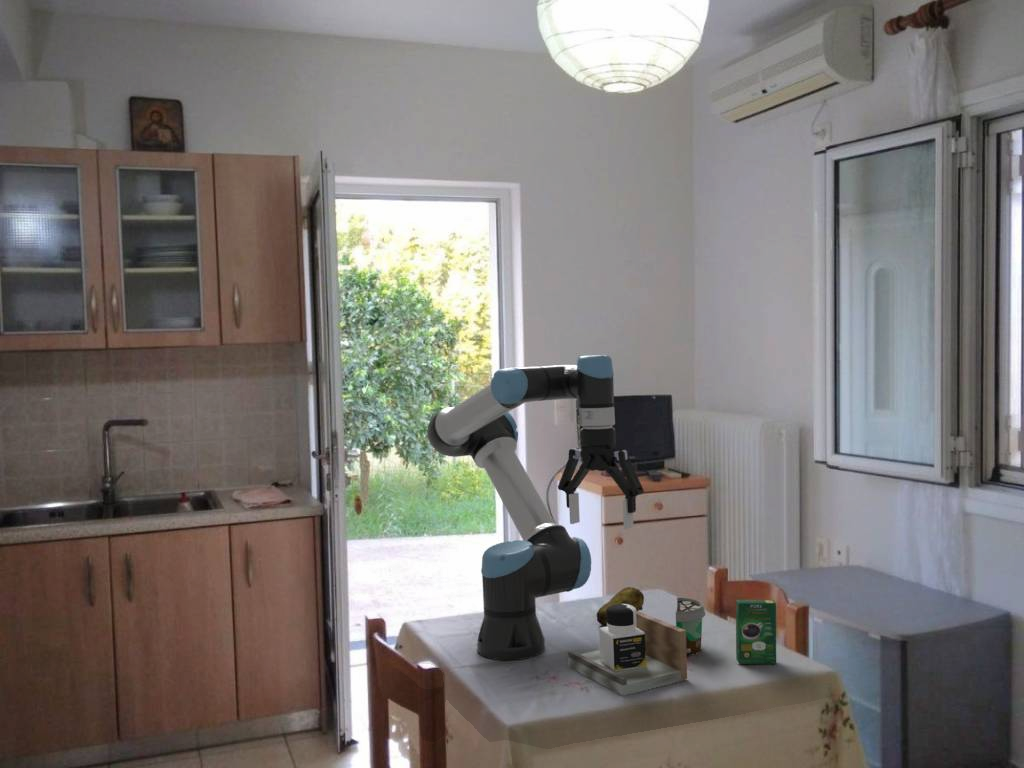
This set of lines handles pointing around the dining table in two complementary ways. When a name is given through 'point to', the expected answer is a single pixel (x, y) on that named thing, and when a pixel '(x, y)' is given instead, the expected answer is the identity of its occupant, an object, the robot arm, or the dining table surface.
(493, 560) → the robot arm
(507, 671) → the dining table surface
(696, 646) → the food container
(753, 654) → the coffee box
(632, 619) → the medicine bottle
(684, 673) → the wall board
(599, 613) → the potato
